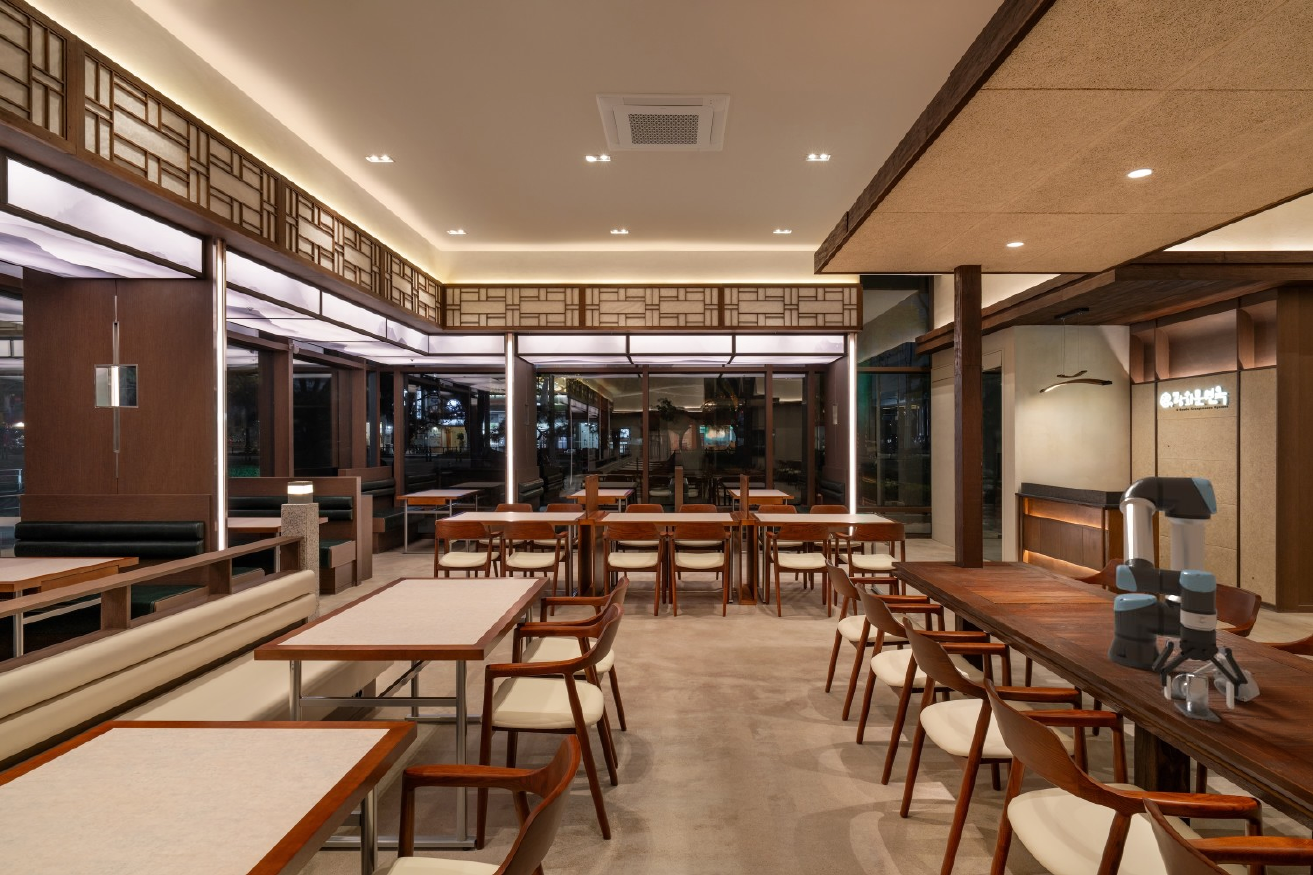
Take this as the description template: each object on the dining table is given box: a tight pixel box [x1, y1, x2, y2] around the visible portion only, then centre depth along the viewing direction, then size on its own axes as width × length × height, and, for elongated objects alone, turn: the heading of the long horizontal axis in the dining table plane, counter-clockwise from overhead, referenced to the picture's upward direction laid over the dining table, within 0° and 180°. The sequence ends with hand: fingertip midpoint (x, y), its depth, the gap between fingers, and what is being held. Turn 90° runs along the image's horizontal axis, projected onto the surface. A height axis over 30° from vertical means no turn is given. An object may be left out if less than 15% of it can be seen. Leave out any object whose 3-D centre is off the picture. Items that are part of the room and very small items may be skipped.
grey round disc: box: [1160, 689, 1185, 701], centre depth 183 cm, size 6×6×1 cm
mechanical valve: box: [1178, 652, 1260, 702], centre depth 179 cm, size 10×18×15 cm, turn 94°
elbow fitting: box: [1171, 672, 1221, 723], centre depth 171 cm, size 12×7×11 cm, turn 158°
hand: (1198, 702), depth 170 cm, fingers open, 13 cm apart
